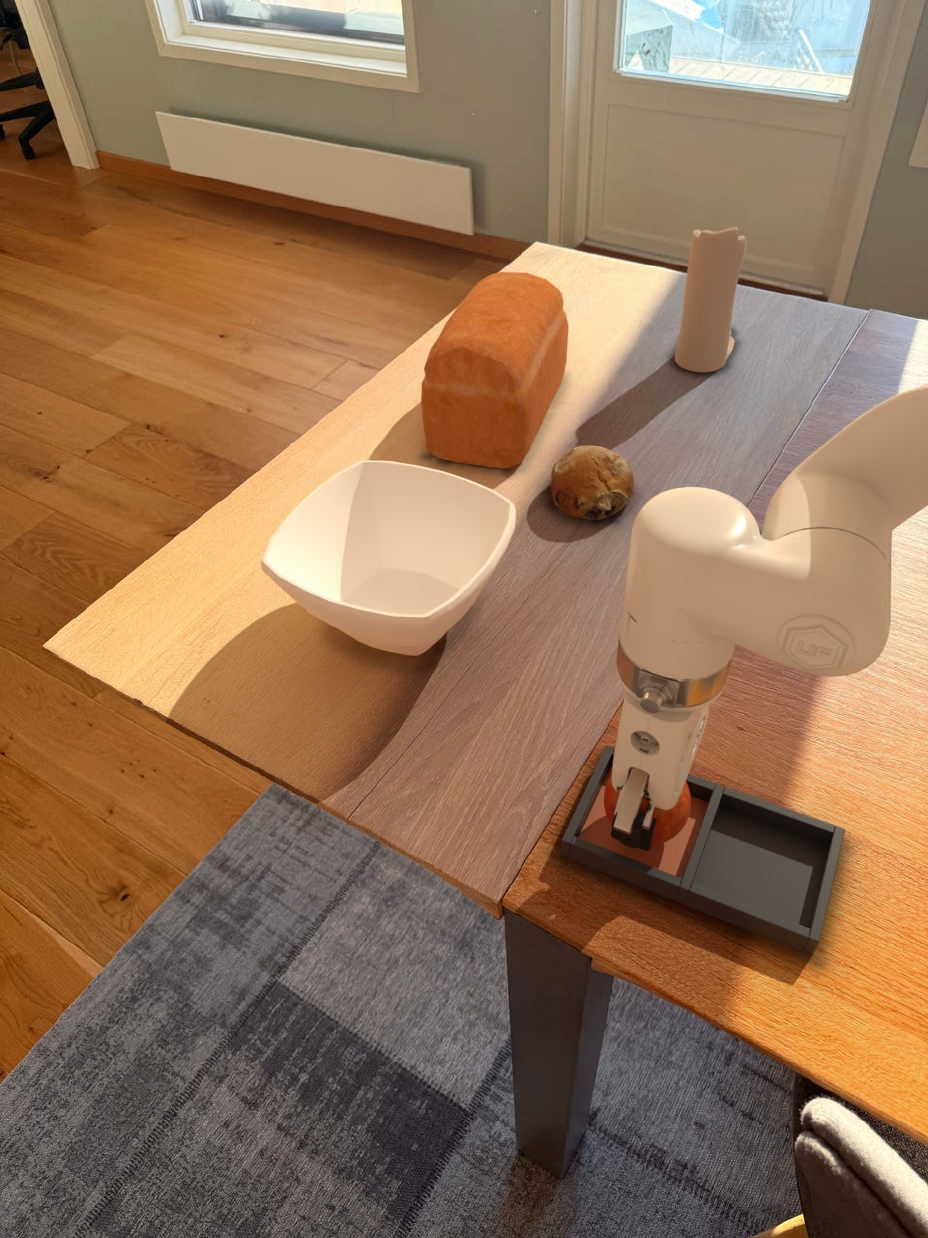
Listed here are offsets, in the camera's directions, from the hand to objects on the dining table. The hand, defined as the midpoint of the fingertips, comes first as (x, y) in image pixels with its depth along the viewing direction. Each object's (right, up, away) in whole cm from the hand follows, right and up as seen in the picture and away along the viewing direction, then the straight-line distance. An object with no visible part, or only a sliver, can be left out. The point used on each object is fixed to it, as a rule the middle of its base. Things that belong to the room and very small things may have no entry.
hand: (646, 803), depth 74 cm
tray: (+5, -4, +1) cm, 6 cm away
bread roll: (0, +29, +35) cm, 46 cm away
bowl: (-21, +15, +22) cm, 34 cm away
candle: (+21, +54, +59) cm, 83 cm away
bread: (-10, +43, +49) cm, 66 cm away
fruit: (0, -2, +2) cm, 3 cm away
